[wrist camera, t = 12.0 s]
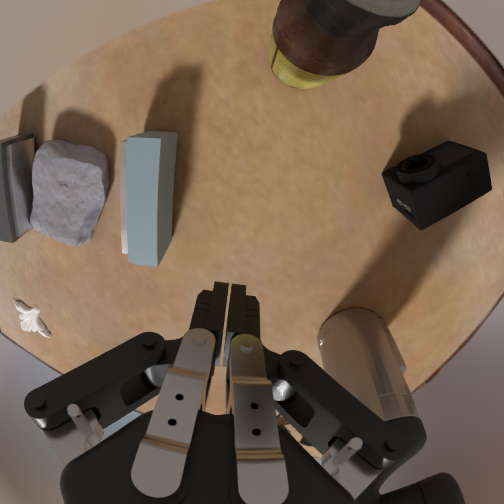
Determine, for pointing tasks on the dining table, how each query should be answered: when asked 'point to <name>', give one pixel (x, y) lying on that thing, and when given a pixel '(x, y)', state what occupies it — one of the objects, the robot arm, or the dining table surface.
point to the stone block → (68, 191)
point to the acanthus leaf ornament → (31, 319)
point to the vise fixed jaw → (16, 186)
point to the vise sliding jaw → (147, 195)
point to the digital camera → (437, 182)
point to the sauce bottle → (328, 37)
